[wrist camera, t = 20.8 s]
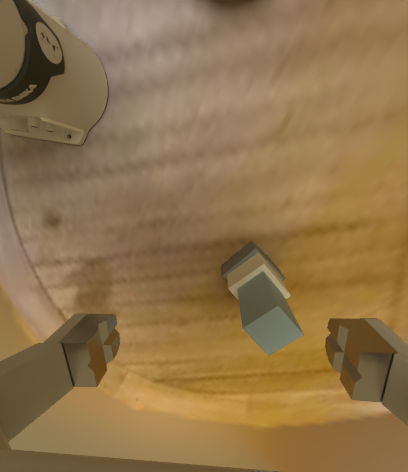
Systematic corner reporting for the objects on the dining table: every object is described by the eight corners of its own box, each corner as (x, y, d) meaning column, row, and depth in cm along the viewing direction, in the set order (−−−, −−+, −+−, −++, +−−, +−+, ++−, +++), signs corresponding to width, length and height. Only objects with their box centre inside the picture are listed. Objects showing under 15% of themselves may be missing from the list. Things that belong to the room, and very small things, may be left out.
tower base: (247, 290, 44) (250, 304, 39) (222, 265, 43) (222, 275, 38) (277, 267, 42) (285, 279, 37) (251, 239, 41) (255, 248, 36)
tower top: (250, 301, 39) (254, 318, 34) (227, 274, 38) (228, 288, 33) (282, 280, 38) (290, 295, 33) (258, 252, 37) (264, 263, 32)
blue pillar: (256, 310, 34) (268, 355, 25) (237, 288, 33) (242, 328, 25) (282, 293, 33) (303, 335, 24) (262, 270, 32) (278, 305, 23)
